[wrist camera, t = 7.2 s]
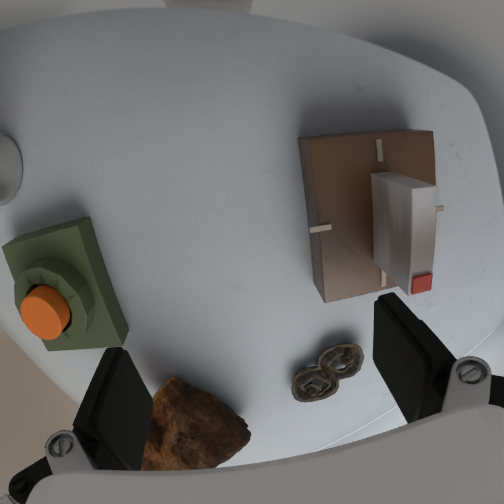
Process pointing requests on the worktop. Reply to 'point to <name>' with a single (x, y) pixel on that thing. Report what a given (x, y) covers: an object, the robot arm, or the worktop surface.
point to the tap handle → (404, 229)
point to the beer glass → (9, 169)
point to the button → (45, 312)
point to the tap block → (354, 202)
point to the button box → (69, 283)
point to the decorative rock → (191, 430)
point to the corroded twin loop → (327, 372)
